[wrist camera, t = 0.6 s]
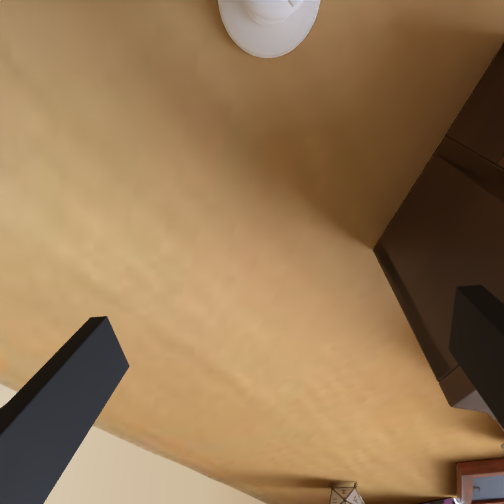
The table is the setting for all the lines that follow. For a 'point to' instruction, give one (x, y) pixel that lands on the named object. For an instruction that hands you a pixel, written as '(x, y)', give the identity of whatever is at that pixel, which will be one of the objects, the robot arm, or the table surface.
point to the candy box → (445, 501)
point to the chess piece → (268, 24)
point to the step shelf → (452, 232)
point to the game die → (345, 495)
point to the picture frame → (480, 482)
